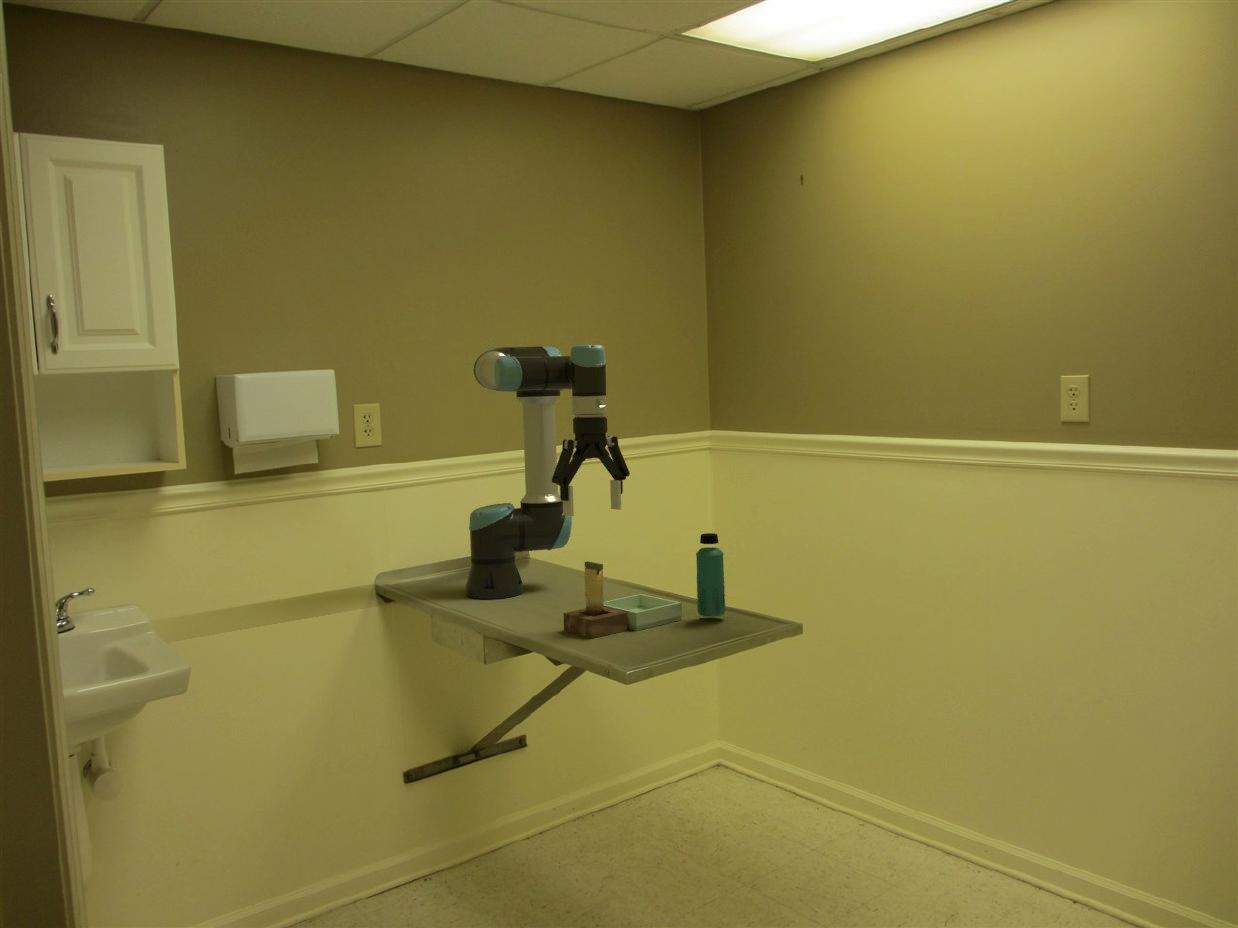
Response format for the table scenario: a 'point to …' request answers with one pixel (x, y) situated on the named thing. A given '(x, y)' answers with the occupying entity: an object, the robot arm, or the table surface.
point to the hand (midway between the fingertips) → (592, 512)
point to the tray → (646, 610)
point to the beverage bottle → (710, 578)
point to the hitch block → (595, 623)
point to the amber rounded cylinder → (594, 589)
